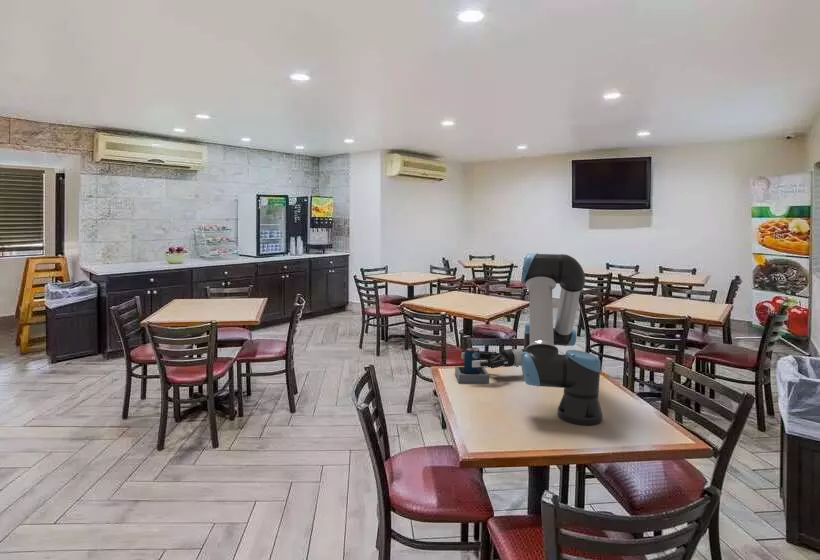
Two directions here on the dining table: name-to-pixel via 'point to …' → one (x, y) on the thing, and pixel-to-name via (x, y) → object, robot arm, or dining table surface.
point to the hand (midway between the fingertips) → (466, 359)
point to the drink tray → (471, 376)
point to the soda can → (470, 356)
